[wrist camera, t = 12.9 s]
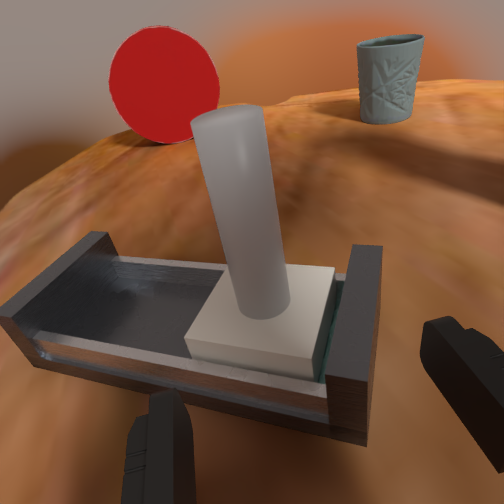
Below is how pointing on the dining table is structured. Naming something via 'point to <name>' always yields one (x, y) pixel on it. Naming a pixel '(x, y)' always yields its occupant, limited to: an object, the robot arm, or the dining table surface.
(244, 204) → the carriage
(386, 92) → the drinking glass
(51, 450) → the dining table surface
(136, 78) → the toy clock
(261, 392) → the gray tray
